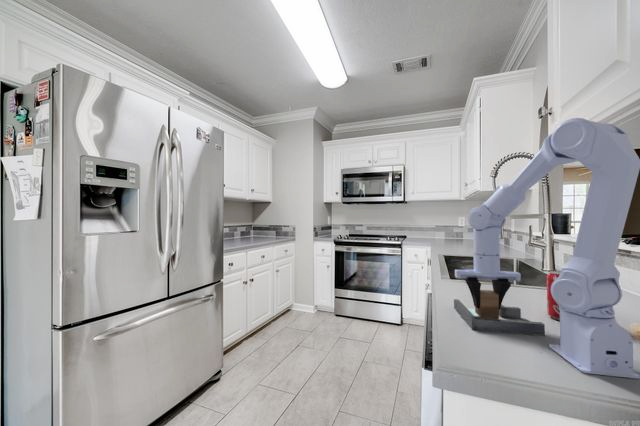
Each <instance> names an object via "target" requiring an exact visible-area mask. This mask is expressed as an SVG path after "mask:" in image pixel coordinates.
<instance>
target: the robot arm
mask: <svg viewBox="0 0 640 426" xmlns="http://www.w3.org/2000/svg"><path fill="white" fill-rule="evenodd" d="M576 162H579V163H580V164H581V165H582V166H584V168H585V167H586V169H588V170H589V171H590V172H591V173H592V174H591V179H590V182H589V185H588V186H589V187H588V190H587V195H586V199H585V202H584V208H583V211H582V214H581V215H582V216H581V219H580V220H581V221H580V222H579V223H580V224H579V228H578V232H577V236H576V239H575V244H574V248H573V252H572V256H571V258H570V259H569V260H568V261H567V262H566V263H565V264H564V265H563V266H562V267H561V270H560V271H561V273H560V275H559V277H558V278H557V279H556V280H555V281H554V282H553V283H552V285H551V294H552V297H553V299H554V300H555V302H556V303H557V304H558V305H559V309H560V320H559V342H560V343H559V344H549V345H548V347H549V348H550V349H551V350H553V351H554V352H555V353H556V354H558V355H559V356H560V357H562V358H563V359H564V360H566V361H567V362H568V363H570V364H571V365H572V366H574V367H575V368H576V369H577V370H578V371H580V372H582V373H584V374H592V375H603V376H609V377H621V378H627V379H628V378H630V379H640V374H638V373H636V372H635V371H634V341H633V337H632V335H631V333H629V331H628V330H627V329H625V328H624V327H622V325H620V324H619V323H618V322H617V320H616V317H615V316H616V314H615V310H614V306H616V305H618V304H619V303H620V302H621V300H622V297H623V290H622V289H621V285H620V277H621V273H620V271H619V270H618V268H617V267H616V266H615V262H616V260H617V259H616V258H617V255H618V250H619V248H620V242H621V239H622V236H623V232H624V228H625V225H626V221H627V218H628V213H629V211H630V207H631V202H632V199H633V195H634V192H635V188H636V184H637V181H638V180H637V179H638V177H639V173H640V157H639V156H638V154H637V153H636V151H635V149H634V147H633V145H632V143H631V142H630V140H629V132H627V131H625V130H623V129H622V128H620V127H618V126H617V125H614V124H611V123H603V122H598V121H593V120H589V119H585V118H583V117H574V118H570V119H567V120H565V121H563V122H561V123H560V124H558V125H557V126H556V127H555V129H554V130H553V131H552V133H550V134H549V135H547V137H546V138H544V139H543V143H542V146H541V148H540V149H539V151H538V152H537V153H536V154H535V155H534V156H533V157H532V159H531V160H529V162H528V163H527V165H526V166H525V167H524V168H523V169H522V170H521V171H520V172H519V174H518V175H517V176H516V177H515V178H514V179H513V180H512V182H510V183H504V184H502V185H500V186H497V187H496V188H495V189H494V191H495V192H493V193H492V195H491V196H490V197H489V198H488V199H487V200H485V201H484V202H483V203H482V204H481V205H480V206H475V207H473V208H471V210H470V212H469V213H468V216H467V222H468V224H469V226H470V227H471V228H472V229H473V234H472V237H473V269H454V277H455V278H456V279H461V280H462V279H464V281H465V283H466V285H467V286H468V289H469V292H470V294H471V297H472V301H473V306H474V308H475V307H476V308H480V290H481V286H482V283H481V282H480V280H491V284H492V285H491V286H492V291H494V292H495V293H497V294H498V295H499V310H500V307H501V305H503V304H502V303H503V300H504V299H505V295H506V293H507V292H508V291H509V289H510V288H511V286H512V283H511V281H515V282H522V277H521V276H522V274H521V273H520V272H518V271H509V270H508V271H506V270H501V255H500V253H501V251H500V250H501V248H500V245H501V244H500V240H501V237H500V236H501V235H502V228H503V227H504V225H505V224H506V218H507V217H508V216H509V215H510V214H511V213H513V212H514V211H515V210H516V209H518V207H519V206H520V205H522V203H524V202H525V201H526V192H528V191H529V189H531V188H532V187H533V186H534V185H536V184H537V183H539V182H540V181H541V180H542V179H543V178H544V177H545V176H546V175H548V174H549V173H550V172H552V171H553V170H554V169H555V168H557V167H558V166H562V165H566V164H572V163H576Z"/></svg>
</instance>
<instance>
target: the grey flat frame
mask: <svg viewBox="0 0 640 426" xmlns="http://www.w3.org/2000/svg"><path fill="white" fill-rule="evenodd" d="M453 308H454V309H455V311H456V312H457V313H458V315H459V316H460V317H461V318H462V320H464V322H465V323H466V325H467V326H468V327H469V328H470V329H471V330H472V331H481V332H482V331H484V332H495V333H497V332H498V333H507V334H519V335H520V334H521V335H532V336H542V337H543V336H546V335H545V334H546V333H545V331H546V330H545V329H546V328H545V324H544V322H541V321H531V320H530V321H529V320H528V321H527V320H515V319H522V317H521V315H522V313H521V307H518V306H517V307H516V306H505V305H503V304H501V307H500V310H499V316H500V317H499V319H492V318H479V317H475V316H474V315H473V314H472V313H471V312H470V311H469V310H468V309H467V308H468V307H467V306H465V305H464V304H463V303H462V301H461V300H460V299H457V298H456V299H453ZM501 318H503V319H501ZM504 318H509V319H504Z"/></svg>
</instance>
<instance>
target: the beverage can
mask: <svg viewBox="0 0 640 426" xmlns="http://www.w3.org/2000/svg"><path fill="white" fill-rule="evenodd" d="M560 273H561V270H549V273H548V274H547V276H546V314H547V315H548V316H550V317H551V318H552V319H554V320H556V321H560V309H559V305H558V304H557V303H556V302H555V300H554V299H553V297H552V294H551V285H552V283H553V282H554V281H555V280H556V279H557V278H558V277H559V275H560Z"/></svg>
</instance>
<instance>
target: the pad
mask: <svg viewBox="0 0 640 426" xmlns="http://www.w3.org/2000/svg"><path fill="white" fill-rule="evenodd" d="M466 308H467V309H468V310H469V311H470V312H471V313H472V314H473V315H474V316H475V317H476V318H481V317H480V316H479V315H478V314H477V313H476V312H475V308H468V307H466Z"/></svg>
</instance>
